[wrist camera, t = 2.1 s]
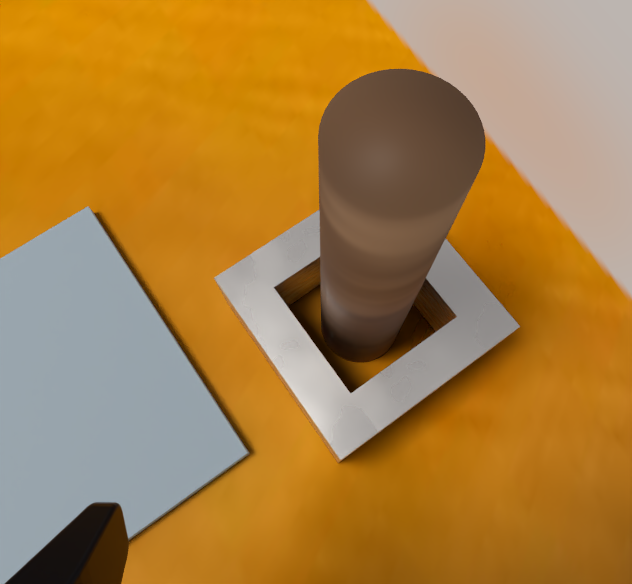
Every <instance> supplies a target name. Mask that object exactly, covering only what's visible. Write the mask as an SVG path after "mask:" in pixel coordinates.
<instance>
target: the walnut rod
mask: <svg viewBox="0 0 632 584" xmlns="http://www.w3.org/2000/svg"><path fill="white" fill-rule="evenodd" d="M318 145H319V210H320V276H321V329H322V334H323V337H324V339H325V342H326V343H327V345H328V346H329V348H330V349H331V350H332V351H333V352H334V353H335V354H337V355H338V356H340V357H342V358H343V359H346V360H349V361H353V362H367V361H371V360H374V359H377V358H379V357H380V356H382V355H383V354H385V353H386V352H387V351H388V350H389V349H390V347H391V346H392V344H393V343H394V341H395V339H396V337H397V335H398V333H399V331H400V329H401V327H402V325H403V323H404V321H405V319H406V317H407V315H408V313H409V311H410V309H411V307H412V305H413V303H414V300H415V298H416V296H417V294H418V292H419V290H420V288H421V286H422V284H423V282H424V280H425V278H426V276H427V274H428V272H429V270H430V268H431V266H432V264H433V262H434V260H435V258H436V256H437V254H438V252H439V250H440V248H441V246H442V244H443V242H444V240H445V238H446V236H447V234H448V232H449V230H450V228H451V226H452V224H453V222H454V220H455V218H456V216H457V214H458V212H459V210H460V208H461V206H462V204H463V202H464V200H465V198H466V196H467V194H468V192H469V190H470V188H471V186H472V184H473V182H474V180H475V178H476V176H477V174H478V172H479V170H480V168H481V165H482V162H483V159H484V153H485V135H484V129H483V126H482V122H481V120H480V118H479V115H478V113H477V111H476V110H475V108H474V107H473V105H472V104H471V103H470V101H469V100H468V99H467V98H466V97H465V96H464V95H463V94H462V93H461V92H460V91H459V90H458V89H457V88H455V87H454V86H452V85H451V84H450V83H448V82H446V81H444V80H443V79H441V78H438V77H436V76H434V75H431V74H428V73H425V72H421V71H416V70H409V69H388V70H381V71H377V72H373V73H370V74H367V75H364V76H362V77H360V78H358V79H356V80H354V81H352V82H351V83H349V84H348V85H346V86H345V87H344V88H343V89H341V90H340V91H339V92H338V93H337V94H336V95H335V96H334V98H333V99H332V100H331V101H330V103H329V104H328V106H327V108H326V109H325V112H324V114H323V116H322V119H321V123H320V126H319V135H318Z"/></svg>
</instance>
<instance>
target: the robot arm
mask: <svg viewBox="0 0 632 584" xmlns="http://www.w3.org/2000/svg"><path fill="white" fill-rule="evenodd" d="M128 547H129V541H128V535H127V530H126V525H125V521H124V516H123V511H122V508H121V506H120V504H119V503H116V502H94V503H92V504H90V505H89V506H87V507H86V508H85V509H84V510H83V511H82V512H81V513H80V514H79V515H78V516H77V517H76V518H74V519H73V520H72V521H71V522H70V523H69V524H68V525H67V526H66V527H65V528H64V529H63V530H62V531H60V532H59V533H58V534H57V535H56V536H55V537H54V538H53V539H52V540H51V541H50V542H49V543H48V544H46V545H45V546H44V547H43V548H42V549H41V550H40V551H39V552H38V553H37V554H36V555H35V556H34V557H32V558H31V559H30V560H29V561H28V562H27V563H26V564H25V565H24V566H23V567H22V568H21V569H20V570H18V571H17V572H16V573H15V574H14V575H13V576H12V577H11V578H10V579H9V580H8V581H7V582H6V583H4V584H121V581H122V577H123V573H124V568H125V564H126V560H127V555H128Z"/></svg>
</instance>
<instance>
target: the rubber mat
mask: <svg viewBox="0 0 632 584" xmlns="http://www.w3.org/2000/svg"><path fill="white" fill-rule="evenodd" d="M249 454H250V453H249V452H248V450H247V448H246V447H245V445H244V444H243V442H242V441H241V439H240V438H239V436H238V435H237V433H236V431H235V430H234V428H233V427H232V425H231V424H230V422H229V421H228V419H227V418H226V416H225V415H224V413H223V411H222V410H221V408H220V407H219V405H218V404H217V402H216V401H215V399H214V398H213V396H212V394H211V393H210V391H209V390H208V388H207V387H206V385H205V384H204V382H203V381H202V379H201V378H200V376H199V374H198V373H197V371H196V370H195V368H194V367H193V365H192V364H191V362H190V361H189V359H188V357H187V356H186V354H185V353H184V351H183V350H182V348H181V347H180V345H179V344H178V342H177V341H176V339H175V337H174V336H173V334H172V333H171V331H170V330H169V328H168V327H167V325H166V324H165V322H164V320H163V319H162V317H161V316H160V314H159V313H158V311H157V310H156V308H155V307H154V305H153V304H152V302H151V300H150V299H149V297H148V296H147V294H146V293H145V291H144V290H143V288H142V287H141V285H140V283H139V282H138V280H137V279H136V277H135V276H134V274H133V273H132V271H131V270H130V268H129V267H128V265H127V263H126V262H125V260H124V259H123V257H122V256H121V254H120V253H119V251H118V250H117V248H116V246H115V245H114V243H113V242H112V240H111V239H110V237H109V236H108V234H107V233H106V231H105V230H104V228H103V226H102V225H101V223H100V222H99V220H98V219H97V217H96V216H95V214H94V213H93V211H92V210H91V209H90V208H89V207H86V208H84V209H83V210H81V211H79V212H78V213H76V214H74V215H73V216H71V217H69V218H68V219H66V220H64V221H63V222H61V223H59V224H58V225H56V226H54V227H53V228H51V229H49V230H48V231H46V232H44V233H43V234H41V235H39V236H37V237H36V238H34V239H32V240H31V241H29V242H27V243H26V244H24V245H22V246H21V247H19V248H17V249H16V250H14V251H12V252H11V253H9V254H7V255H6V256H4V257H2V258H1V259H0V584H4V583H6V582H7V581H8V580H9V579H10V578H11V577H12V576H13V575H14V574H15V573H16V572H17V571H18V570H20V569H21V568H22V567H23V566H24V565H25V564H26V563H27V562H28V561H29V560H30V559H31V558H32V557H34V556H35V555H36V554H37V553H38V552H39V551H40V550H41V549H42V548H43V547H44V546H45V545H46V544H48V543H49V542H50V541H51V540H52V539H53V538H54V537H55V536H56V535H57V534H58V533H59V532H60V531H62V530H63V529H64V528H65V527H66V526H67V525H68V524H69V523H70V522H71V521H72V520H73V519H74V518H76V517H77V516H78V515H79V514H80V513H81V512H82V511H83V510H84V509H85V508H86V507H87V506H89V505H90V504H92V503H94V502H116V503H119V504H120V506H121V508H122V511H123V516H124V521H125V525H126V530H127V535H128V541H129V540H130V539H132V538H133V537H135V536H136V535H137V534H139V533H140V532H142V531H143V530H144V529H146V528H147V527H148V526H150V525H151V524H153V523H154V522H155V521H157V520H158V519H160V518H161V517H162V516H164V515H165V514H167V513H168V512H169V511H171V510H172V509H174V508H175V507H176V506H178V505H179V504H180V503H182V502H183V501H185V500H186V499H187V498H189V497H190V496H192V495H193V494H194V493H196V492H197V491H199V490H200V489H201V488H203V487H204V486H206V485H207V484H208V483H210V482H211V481H213V480H214V479H215V478H217V477H218V476H219V475H221V474H222V473H224V472H225V471H226V470H228V469H229V468H231V467H232V466H233V465H235V464H236V463H238V462H239V461H240V460H242V459H243V458H245V457H246V456H247V455H249Z"/></svg>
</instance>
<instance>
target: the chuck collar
mask: <svg viewBox="0 0 632 584" xmlns="http://www.w3.org/2000/svg"><path fill="white" fill-rule="evenodd" d="M214 279H215V281H216V283H217V284H218V286H219V288H220V290H221V292H222V294H223V296H224V297H225V299H226V301H227V303H228V305H229V306H230V307H231V309H232V310H233V312H234V313H235V315H236V316H237V318H238V319H239V320H240V322H241V323H242V325H243V326H244V328H245V329H246V331H247V332H248V333H249V335H250V336H251V338H252V339H253V341H254V342H255V344H256V345H257V346H258V348H259V349H260V351H261V352H262V354H263V355H264V357H265V358H266V359H267V361H268V362H269V364H270V365H271V367H272V368H273V370H274V371H275V372H276V374H277V375H278V377H279V378H280V380H281V381H282V383H283V384H284V385H285V387H286V388H287V390H288V391H289V393H290V394H291V396H292V397H293V398H294V400H295V401H296V403H297V404H298V406H299V407H300V409H301V410H302V411H303V413H304V414H305V416H306V417H307V419H308V420H309V422H310V423H311V424H312V426H313V427H314V429H315V430H316V432H317V433H318V435H319V436H320V437H321V439H322V440H323V442H324V443H325V445H326V446H327V448H328V449H329V450H330V452H331V453H332V455H333V456H334V458H335V459H336V461H337V462H338V463H339V462H341V461H342V460H343V459H345V458H346V457H347V456H349V455H350V454H351V453H353V452H354V451H355V450H357V449H358V448H359V447H361V446H362V445H363V444H365V443H366V442H367V441H369V440H370V439H371V438H373V437H374V436H375V435H377V434H378V433H380V432H381V431H382V430H384V429H385V428H386V427H388V426H389V425H390V424H392V423H393V422H394V421H396V420H397V419H398V418H400V417H401V416H402V415H404V414H405V413H406V412H408V411H409V410H410V409H412V408H413V407H414V406H416V405H417V404H418V403H420V402H421V401H422V400H424V399H425V398H426V397H428V396H429V395H431V394H432V393H433V392H435V391H436V390H437V389H439V388H440V387H441V386H443V385H444V384H445V383H447V382H448V381H449V380H451V379H452V378H453V377H455V376H456V375H457V374H459V373H460V372H461V371H463V370H464V369H465V368H467V367H468V366H469V365H471V364H472V363H473V362H475V361H476V360H477V359H479V358H480V357H482V356H483V355H484V354H486V353H487V352H488V351H490V350H491V349H492V348H494V347H495V346H496V345H497V344H499V343H500V342H501V341H503V340H504V339H505V338H506V337H508V336H509V335H510V334H511V333H513V332H514V331H515V330H516V329H518V328H519V327H520V326H519V325H518V323H517V322H516V321H515V320H514V319H513V317H512V316H511V315H510V314H509V313H508V312H507V310H506V309H505V308H504V307H503V306H502V305H501V303H500V302H499V301H498V300H497V299H496V297H495V296H494V295H493V294H492V293H491V292H490V290H489V289H488V288H487V287H486V286H485V285H484V283H483V282H482V281H481V280H480V279H479V277H478V276H477V275H476V274H475V273H474V272H473V270H472V269H471V268H470V267H469V266H468V265H467V263H466V262H465V261H464V260H463V259H462V257H461V256H460V255H459V254H458V253H457V252H456V250H455V249H454V248H453V247H452V246H451V244H450V243H449V242H448V241H447V240H446V239H445V240H444V242H443V244H442V246H441V248H440V250H439V252H438V254H437V256H436V258H435V260H434V262H433V264H432V266H431V268H430V270H429V272H428V274H427V276H426V278H425V280H424V282H423V284H422V286H421V288H420V290H419V292H418V294H417V296H416V298H415V300H414V303H413V304H414V305H415V306H416V308H417V309H418V310H419V311H420V313H421V314H422V315H423V316H424V318H425V319H426V320H427V321H428V323H429V324H430V325H431V326H432V328H433V329H434V330H435V331H436V332H435V333H434V334H432V335H431V336H430V337H428V338H427V339H425V340H424V341H423V342H421V343H420V344H419V345H417V346H416V347H414V348H413V349H412V350H410V351H409V352H408V353H406V354H405V355H403V356H402V357H401V358H399V359H398V360H396V361H395V362H394V363H392V364H391V365H390V366H388V367H387V368H385V369H384V370H383V371H381V372H380V373H378V374H377V375H376V376H374V377H373V378H372V379H370V380H369V381H367V382H366V383H365V384H363V385H362V386H360V387H359V388H358V389H356V390H355V391H354V392H352V393H350V392H349V391H348V389H347V388H346V386H345V385H344V384H343V382H342V381H341V380H340V378H339V377H338V375H337V374H336V373H335V371H334V370H333V369H332V367H331V366H330V364H329V363H328V362H327V360H326V359H325V358H324V356H323V355H322V353H321V352H320V351H319V349H318V348H317V347H316V345H315V344H314V342H313V341H312V340H311V338H310V337H309V335H308V334H307V333H306V331H305V330H304V329H303V327H302V326H301V324H300V323H299V322H298V320H297V319H296V318H295V316H294V315H293V313H292V312H291V311H290V309H289V308H288V307H287V306H289V305H290V304H292V303H293V302H295V301H296V300H298V299H299V298H301V297H302V296H304V295H305V294H307V293H308V292H310V291H311V290H313V289H314V288H316V287H317V286H319V285H320V284H321V276H320V210H318V211H317V212H315V213H314V214H312V215H311V216H309V217H307V218H306V219H304V220H303V221H301V222H300V223H298V224H297V225H295V226H294V227H292V228H290V229H289V230H287V231H286V232H284V233H283V234H281V235H280V236H278V237H277V238H275V239H273V240H272V241H270V242H269V243H267V244H266V245H264V246H263V247H261V248H260V249H258V250H257V251H255V252H253V253H252V254H250V255H249V256H247V257H246V258H244V259H243V260H241V261H240V262H238V263H236V264H235V265H233V266H232V267H230V268H229V269H227V270H226V271H224V272H223V273H221V274H220V275H218V276H216V277H215V278H214Z"/></svg>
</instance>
